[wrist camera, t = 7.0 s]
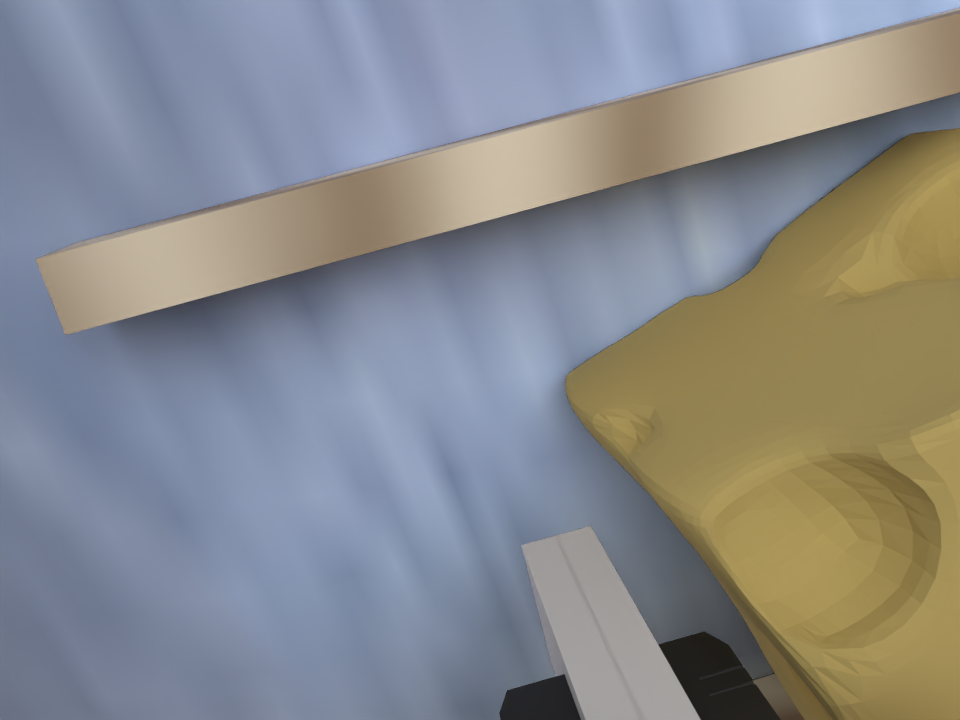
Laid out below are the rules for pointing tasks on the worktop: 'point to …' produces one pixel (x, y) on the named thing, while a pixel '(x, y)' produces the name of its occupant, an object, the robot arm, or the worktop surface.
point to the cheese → (819, 438)
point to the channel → (504, 180)
